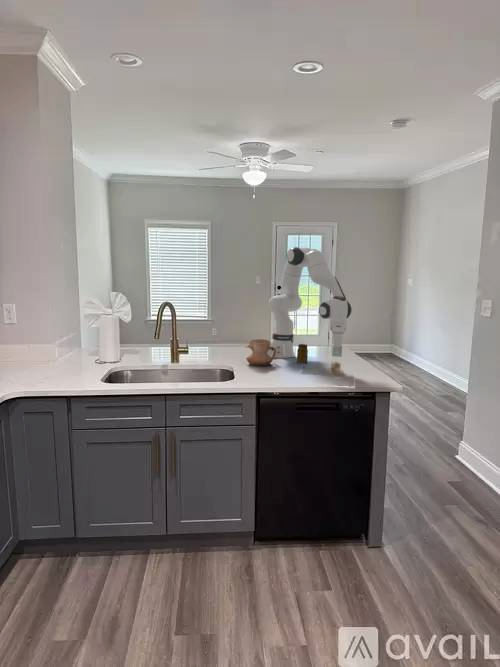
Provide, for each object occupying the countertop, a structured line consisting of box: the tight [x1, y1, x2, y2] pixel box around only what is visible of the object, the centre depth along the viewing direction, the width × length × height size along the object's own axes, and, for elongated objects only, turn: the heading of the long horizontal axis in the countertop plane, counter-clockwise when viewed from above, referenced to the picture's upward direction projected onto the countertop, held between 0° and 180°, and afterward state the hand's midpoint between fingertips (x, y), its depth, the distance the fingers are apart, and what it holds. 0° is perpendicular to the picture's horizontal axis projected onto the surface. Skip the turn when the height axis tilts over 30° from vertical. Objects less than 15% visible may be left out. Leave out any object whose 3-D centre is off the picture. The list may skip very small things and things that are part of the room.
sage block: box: [331, 344, 343, 358], centre depth 231 cm, size 5×5×5 cm
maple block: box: [330, 361, 342, 373], centre depth 233 cm, size 5×5×5 cm
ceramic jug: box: [245, 338, 276, 367], centre depth 250 cm, size 18×14×14 cm
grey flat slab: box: [300, 366, 344, 378], centre depth 234 cm, size 22×15×1 cm
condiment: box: [296, 343, 309, 365], centre depth 252 cm, size 7×8×12 cm
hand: (336, 352), depth 232 cm, fingers closed on sage block, 5 cm apart
